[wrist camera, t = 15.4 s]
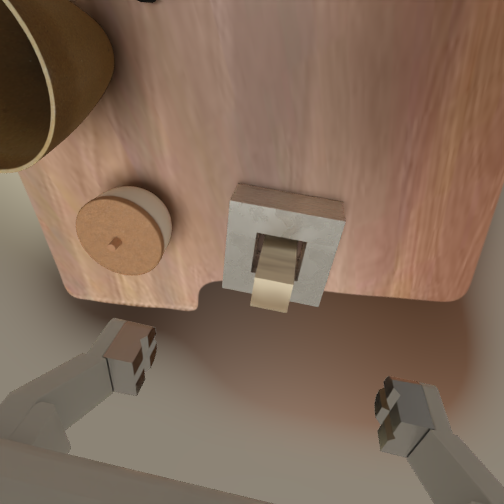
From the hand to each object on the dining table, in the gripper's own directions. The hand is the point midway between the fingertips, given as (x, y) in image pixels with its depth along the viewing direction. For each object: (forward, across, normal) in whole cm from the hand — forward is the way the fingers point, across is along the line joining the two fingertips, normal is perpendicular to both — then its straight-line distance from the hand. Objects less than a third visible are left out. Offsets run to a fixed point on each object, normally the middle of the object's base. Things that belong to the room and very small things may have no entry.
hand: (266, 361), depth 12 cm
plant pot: (+31, +25, -4) cm, 40 cm away
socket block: (+31, 0, +14) cm, 34 cm away
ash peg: (+31, 0, +14) cm, 34 cm away
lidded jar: (+31, +19, +14) cm, 39 cm away
